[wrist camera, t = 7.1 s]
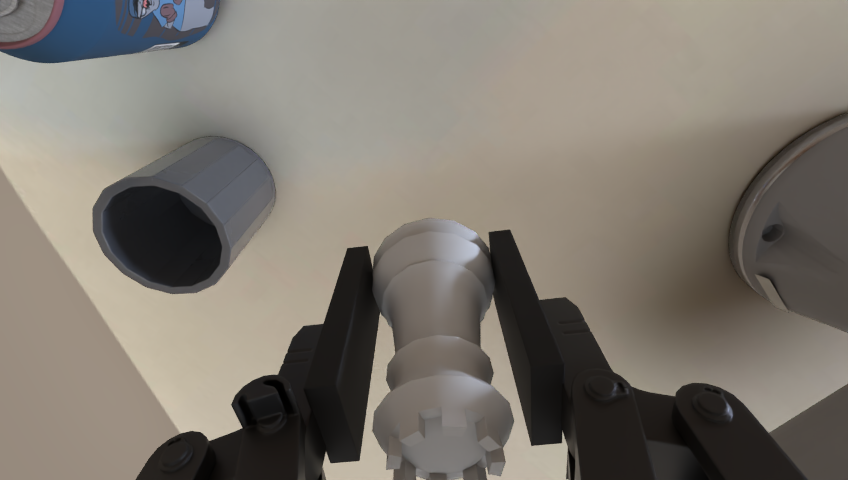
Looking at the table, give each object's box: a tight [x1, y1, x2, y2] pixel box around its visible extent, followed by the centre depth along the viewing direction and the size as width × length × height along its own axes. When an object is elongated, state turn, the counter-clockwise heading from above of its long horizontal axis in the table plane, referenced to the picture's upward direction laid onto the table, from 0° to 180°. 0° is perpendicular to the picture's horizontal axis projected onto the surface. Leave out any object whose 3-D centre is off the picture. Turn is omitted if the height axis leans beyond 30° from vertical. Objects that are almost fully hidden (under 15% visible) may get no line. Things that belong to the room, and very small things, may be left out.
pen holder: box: [93, 136, 275, 294], centre depth 26 cm, size 7×7×8 cm
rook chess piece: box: [372, 218, 514, 480], centre depth 12 cm, size 4×4×8 cm
